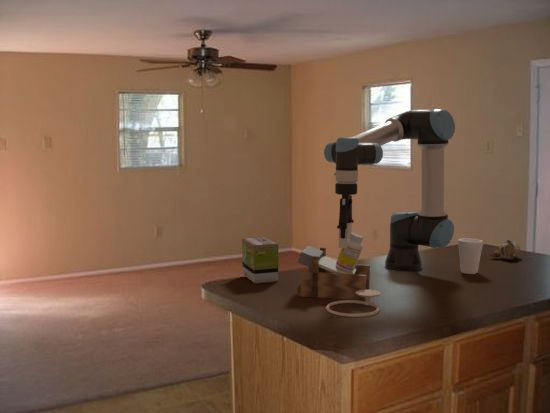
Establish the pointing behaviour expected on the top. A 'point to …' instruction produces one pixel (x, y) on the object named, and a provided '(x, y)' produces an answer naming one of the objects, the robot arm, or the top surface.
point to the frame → (333, 282)
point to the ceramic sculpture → (507, 250)
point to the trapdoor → (320, 260)
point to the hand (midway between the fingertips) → (345, 244)
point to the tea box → (260, 259)
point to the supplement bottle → (350, 253)
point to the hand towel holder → (361, 293)
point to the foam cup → (469, 254)
